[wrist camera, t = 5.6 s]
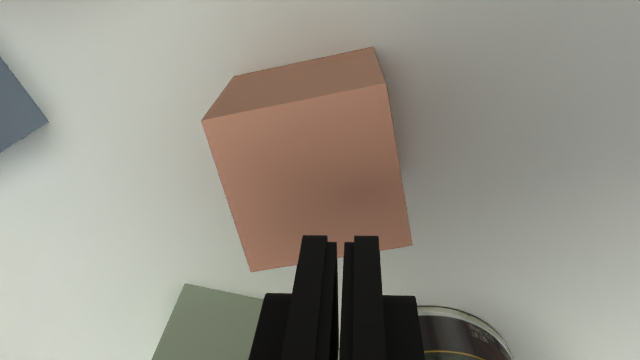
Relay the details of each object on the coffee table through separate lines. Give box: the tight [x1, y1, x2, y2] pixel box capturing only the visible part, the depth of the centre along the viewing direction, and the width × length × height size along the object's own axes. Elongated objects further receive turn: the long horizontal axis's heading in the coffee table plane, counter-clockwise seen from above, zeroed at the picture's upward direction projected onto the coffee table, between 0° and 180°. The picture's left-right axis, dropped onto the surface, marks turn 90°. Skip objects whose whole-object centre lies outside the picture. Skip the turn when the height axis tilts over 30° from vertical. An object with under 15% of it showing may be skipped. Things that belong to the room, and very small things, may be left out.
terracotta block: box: [201, 47, 412, 272], centre depth 20 cm, size 6×6×6 cm
